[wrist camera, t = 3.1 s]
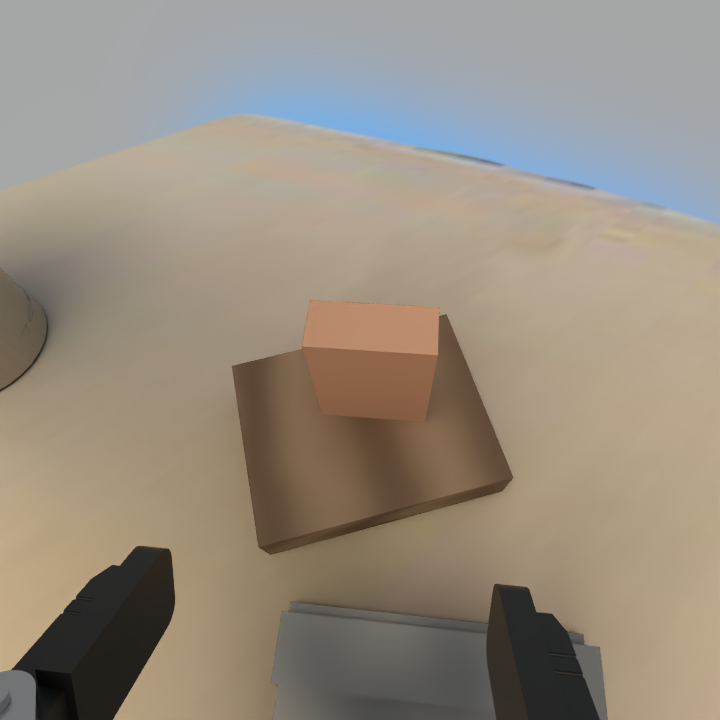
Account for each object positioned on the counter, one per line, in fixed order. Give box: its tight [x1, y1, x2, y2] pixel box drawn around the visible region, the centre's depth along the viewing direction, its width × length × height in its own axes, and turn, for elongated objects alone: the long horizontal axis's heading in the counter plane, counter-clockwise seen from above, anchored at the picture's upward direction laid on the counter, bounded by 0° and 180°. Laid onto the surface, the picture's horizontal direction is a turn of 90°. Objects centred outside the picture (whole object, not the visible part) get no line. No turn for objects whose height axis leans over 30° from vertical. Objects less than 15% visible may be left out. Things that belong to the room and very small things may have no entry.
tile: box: [302, 300, 439, 422], centre depth 26 cm, size 6×2×8 cm, turn 84°
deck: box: [232, 315, 513, 555], centre depth 30 cm, size 14×11×3 cm
